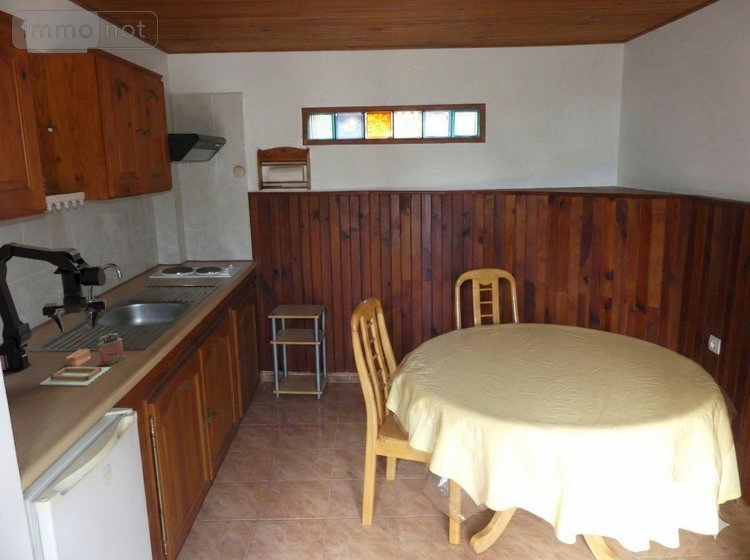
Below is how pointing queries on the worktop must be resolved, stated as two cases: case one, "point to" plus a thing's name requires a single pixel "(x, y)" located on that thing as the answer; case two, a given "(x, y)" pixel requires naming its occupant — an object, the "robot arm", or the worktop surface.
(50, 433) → the worktop surface
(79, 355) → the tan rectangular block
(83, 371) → the mat
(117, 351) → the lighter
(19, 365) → the robot arm
